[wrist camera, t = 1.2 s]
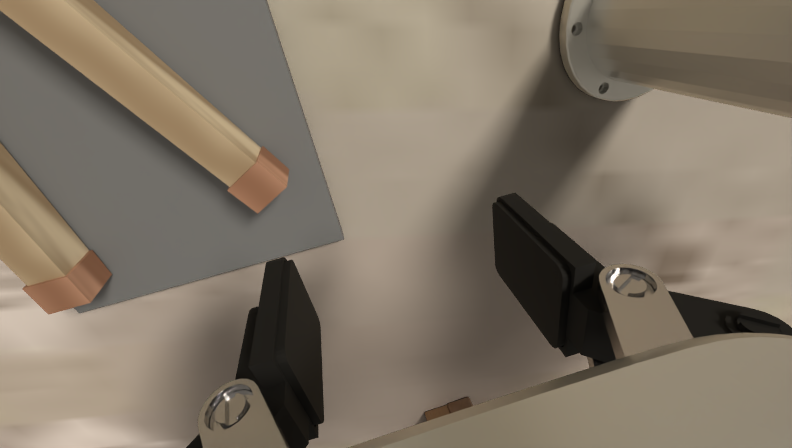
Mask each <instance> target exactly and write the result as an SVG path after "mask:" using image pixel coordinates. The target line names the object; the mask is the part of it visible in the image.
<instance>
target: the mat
mask: <svg viewBox="0 0 792 448" xmlns="http://www.w3.org/2000/svg"><path fill="white" fill-rule="evenodd" d="M94 1H95V2H96V3H97V4H98V5H100V6H101V7H102V8H103V9H104V10H105V11H106V12H107V13H109V14H110V15H111V16H112V17H113V18H114V19H115V20H117V21H118V22H119V23H120V24H121V25H122V26H123V27H124V28H126V29H127V30H128V31H129V32H130V33H131V34H132V35H134V36H135V37H136V38H137V39H138V40H139V41H140V42H141V43H143V44H144V45H145V46H146V47H147V48H148V49H149V50H151V51H152V52H153V53H154V54H155V55H156V56H157V57H159V58H160V59H161V60H162V61H163V62H164V63H165V64H166V65H168V66H169V67H170V68H171V69H172V70H173V71H174V72H176V73H177V74H178V75H179V76H180V77H181V78H182V79H183V80H185V81H186V82H187V83H188V84H189V85H190V86H191V87H193V88H194V89H195V90H196V91H197V92H198V93H199V94H201V95H202V96H203V97H204V98H205V99H206V100H207V101H208V102H210V103H211V104H212V105H213V106H214V107H215V108H216V109H218V110H219V111H220V112H221V113H222V114H223V115H224V116H225V117H227V118H228V119H229V120H230V121H231V122H232V123H233V124H235V125H236V126H237V127H238V128H239V129H240V130H241V131H242V132H244V133H245V134H246V135H247V136H248V137H249V138H250V139H252V140H253V141H254V142H255V143H256V144H257V145H258V146H260V147H262V146H264V147H265V148H266V149H267V150H268V151H269V152H270V153H272V154H273V155H274V156H275V157H276V158H277V159H278V160H279V161H281V162H282V163H283V164H284V165H285V166H286V167H287V168H288V169H289V175H288V183H287V187H286V188H285V189H284V190H283V191H282V192H281V193H280V194H279V195H278V196H277V197H275V198H274V199H273V200H272V201H271V202H270V203H269V204H268V205H267V206H266V207H264V208H263V209H262V210H261V211H260V212H259V213H258V214H257V213H256V212H255V211H253V210H252V209H251V208H250V207H248V206H247V205H246V204H244V203H243V202H242V201H240V200H239V199H238V198H236V197H235V196H234V195H232V194H231V193H230V192H228V191H227V190H228V188H229V186H228V185H226V184H225V183H224V182H222V181H221V180H220V179H219V178H217V177H216V176H215V175H213V174H212V173H211V172H209V171H208V170H207V169H206V168H204V167H203V166H202V165H200V164H199V163H198V162H196V161H195V160H194V159H193V158H191V157H190V156H189V155H187V154H186V153H185V152H183V151H182V150H181V149H180V148H178V147H177V146H176V145H174V144H173V143H172V142H170V141H169V140H168V139H167V138H165V137H164V136H163V135H161V134H160V133H159V132H157V131H156V130H155V129H154V128H152V127H151V126H150V125H148V124H147V123H146V122H144V121H143V120H142V119H141V118H139V117H138V116H137V115H135V114H134V113H133V112H131V111H130V110H129V109H128V108H126V107H125V106H124V105H122V104H121V103H120V102H118V101H117V100H116V99H115V98H113V97H112V96H111V95H109V94H108V93H107V92H105V91H104V90H103V89H102V88H100V87H99V86H98V85H96V84H95V83H94V82H92V81H91V80H90V79H89V78H87V77H86V76H85V75H83V74H82V73H81V72H79V71H78V70H77V69H76V68H74V67H73V66H72V65H70V64H69V63H68V62H66V61H65V60H64V59H63V58H61V57H60V56H59V55H57V54H56V53H55V52H53V51H52V50H51V49H50V48H48V47H47V46H46V45H44V44H43V43H42V42H40V41H39V40H38V39H37V38H35V37H34V36H33V35H31V34H30V33H29V32H27V31H26V30H25V29H24V28H22V27H21V26H20V25H18V24H17V23H16V22H14V21H13V20H12V19H11V18H9V17H8V16H7V15H5V14H4V13H3V12H1V11H0V143H1V144H2V145H3V146H4V147H5V149H6V150H7V151H8V152H9V154H10V155H11V156H12V157H13V158H14V160H15V161H16V162H17V163H18V165H19V166H20V167H21V168H22V169H23V171H24V172H25V173H26V174H27V175H28V177H29V178H30V179H31V180H32V182H33V183H34V184H35V185H36V186H37V188H38V189H39V190H40V191H41V192H42V194H43V195H44V196H45V197H46V199H47V200H48V201H49V202H50V203H51V205H52V206H53V207H54V208H55V210H56V211H57V212H58V213H59V214H60V216H61V217H62V218H63V219H64V220H65V222H66V223H67V224H68V225H69V227H70V228H71V229H72V230H73V231H74V233H75V234H76V235H77V236H78V238H79V239H80V240H81V241H82V242H83V244H84V245H85V246H86V247H87V248H88V250H93V252H94V253H95V254H96V255H97V257H98V258H99V259H100V260H101V261H102V263H103V264H104V265H105V266H106V268H107V269H108V270H109V271H110V272H111V274H112V275H111V276H110V278H109V279H108V280H107V282H106V283H105V284H104V286H103V287H102V288H101V290H100V291H99V292H98V294H97V295H96V296H95V298H94V299H93V300H92V301H91V303H88V304H84V305H81V306H77V307H74V308H75V309H76V310H77V312H78V313H82V312H86V311H89V310H93V309H96V308H100V307H104V306H107V305H111V304H114V303H118V302H121V301H125V300H129V299H132V298H136V297H139V296H143V295H147V294H150V293H154V292H157V291H161V290H164V289H168V288H172V287H175V286H179V285H182V284H186V283H189V282H193V281H197V280H200V279H204V278H207V277H211V276H214V275H218V274H222V273H225V272H229V271H232V270H236V269H239V268H243V267H247V266H250V265H254V264H257V263H261V262H265V261H268V260H272V259H275V258H279V257H282V256H286V255H290V254H293V253H297V252H300V251H304V250H307V249H311V248H315V247H318V246H322V245H325V244H329V243H332V242H336V241H340V240H343V239H344V236H343V232H342V229H341V226H340V223H339V220H338V217H337V213H336V210H335V207H334V204H333V201H332V198H331V195H330V192H329V189H328V186H327V183H326V180H325V177H324V174H323V171H322V168H321V165H320V162H319V158H318V155H317V152H316V149H315V146H314V143H313V140H312V137H311V134H310V131H309V128H308V125H307V122H306V119H305V116H304V113H303V110H302V107H301V104H300V100H299V97H298V94H297V91H296V88H295V85H294V82H293V79H292V76H291V73H290V70H289V67H288V64H287V61H286V58H285V55H284V52H283V49H282V46H281V42H280V39H279V36H278V33H277V30H276V27H275V24H274V21H273V18H272V15H271V12H270V9H269V6H268V3H267V0H94Z"/></svg>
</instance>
